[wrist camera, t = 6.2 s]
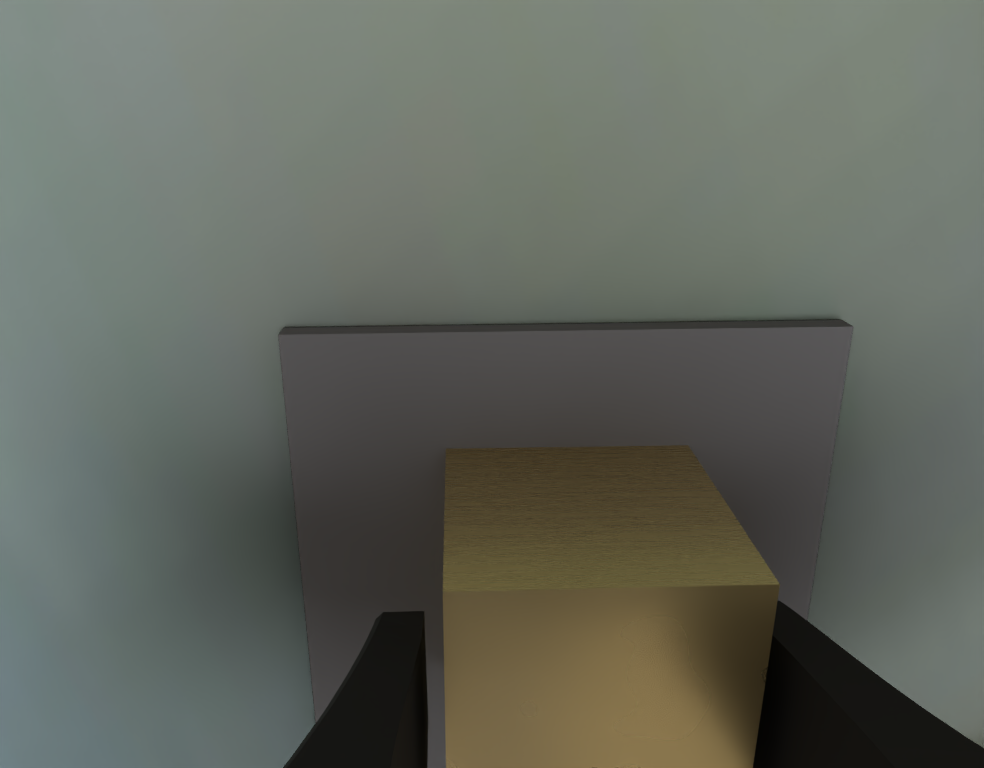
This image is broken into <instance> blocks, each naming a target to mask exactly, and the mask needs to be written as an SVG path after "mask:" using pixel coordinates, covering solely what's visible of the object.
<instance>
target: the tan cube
mask: <svg viewBox="0 0 984 768" xmlns="http://www.w3.org/2000/svg"><path fill="white" fill-rule="evenodd" d="M779 588H780V584H779V582H778V581H777V579H776V578H775V576H774V575H773V573H772V572H771V570H770V569H769V567H768V566H767V564H766V562H765V561H764V559H763V558H762V556H761V555H760V553H759V552H758V550H757V549H756V547H755V546H754V544H753V543H752V541H751V540H750V538H749V537H748V535H747V534H746V532H745V531H744V529H743V528H742V526H741V525H740V523H739V522H738V520H737V519H736V517H735V515H734V514H733V512H732V511H731V509H730V508H729V506H728V505H727V503H726V502H725V500H724V499H723V497H722V496H721V494H720V493H719V491H718V490H717V488H716V487H715V485H714V484H713V482H712V481H711V479H710V478H709V476H708V475H707V473H706V472H705V470H704V469H703V467H702V465H701V464H700V462H699V461H698V459H697V458H696V456H695V455H694V453H693V452H692V450H691V449H690V447H689V446H688V445H676V446H605V447H534V448H463V449H446V463H445V510H444V556H443V633H444V686H445V740H446V768H753V763H754V756H755V749H756V743H757V736H758V729H759V722H760V716H761V709H762V702H763V695H764V689H765V682H766V675H767V668H768V662H769V655H770V648H771V642H772V635H773V628H774V621H775V615H776V608H777V601H778V594H779Z"/></svg>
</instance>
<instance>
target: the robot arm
mask: <svg viewBox="0 0 984 768" xmlns="http://www.w3.org/2000/svg"><path fill="white" fill-rule="evenodd" d="M427 762H428V698H427V671H426V643H425V615H424V611H402V612H383V613H382V614H381V615H379V616H378V617H377V618H376V619H375V622H374V624H373V627H372V629H371V631H370V633H369V635H368V637H367V640H366V642H365V644H364V645H363V647H362V649H361V651H360V653H359V655H358V657H357V658H356V660H355V662H354V664H353V665H352V667H351V669H350V671H349V673H348V674H347V676H346V677H345V679H344V681H343V682H342V684H341V685H340V687H339V689H338V690H337V692H336V693H335V695H334V697H333V698H332V700H331V701H330V703H329V705H328V706H327V708H326V709H325V711H324V712H323V714H322V715H321V717H320V718H319V720H318V721H317V722H316V724H315V725H314V726H313V728H312V729H311V731H310V732H309V733H308V735H307V736H306V738H305V739H304V740H303V742H302V743H301V744H300V746H299V747H298V749H297V750H296V751H295V753H294V754H293V756H292V757H291V758H290V759H289V761H288V762H287V763H286V765H285V766H284V767H283V768H427ZM753 768H984V748H982V747H981V746H979V745H978V744H976V743H974V742H973V741H971V740H970V739H968V738H967V737H965V736H964V735H962V734H961V733H959V732H958V731H956V730H955V729H953V728H952V727H950V726H949V725H947V724H946V723H944V722H943V721H941V720H940V719H938V718H937V717H935V716H934V715H932V714H931V713H930V712H928V711H927V710H925V709H924V708H922V707H921V706H919V705H918V704H917V703H915V702H914V701H912V700H911V699H910V698H908V697H907V696H905V695H904V694H903V693H901V692H900V691H898V690H897V689H896V688H894V687H893V686H892V685H890V684H889V683H887V682H886V681H885V680H883V679H882V678H881V677H879V676H878V675H877V674H875V673H874V672H873V671H871V670H870V669H869V668H867V667H866V666H865V665H863V664H862V663H861V662H860V661H858V660H857V659H856V658H854V657H853V656H852V655H850V654H849V653H848V652H847V651H845V650H844V649H843V648H841V647H840V646H839V645H838V644H836V643H835V642H834V641H832V640H831V639H830V638H829V637H827V636H826V635H825V634H823V633H822V632H821V631H820V630H818V629H817V628H816V627H814V626H813V625H812V624H811V623H809V622H808V621H807V620H805V619H804V618H803V617H802V616H800V615H799V614H798V613H796V612H795V611H794V610H792V609H791V608H789V607H788V606H787V605H785V604H784V603H782V602H781V601H777V608H776V615H775V621H774V628H773V635H772V642H771V648H770V655H769V662H768V668H767V675H766V682H765V689H764V695H763V702H762V709H761V716H760V722H759V729H758V736H757V743H756V749H755V756H754V763H753Z"/></svg>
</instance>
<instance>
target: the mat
mask: <svg viewBox="0 0 984 768" xmlns="http://www.w3.org/2000/svg"><path fill="white" fill-rule="evenodd" d="M852 332H853V326H852V325H850V324H848V323H846V322H845V321H843V320H793V321H721V322H650V323H578V324H506V325H435V326H363V327H292V328H283V329H282V330H281V332H280V333H279V335H278V337H279V347H280V357H281V368H282V378H283V389H284V399H285V409H286V420H287V430H288V441H289V451H290V461H291V472H292V482H293V493H294V503H295V513H296V524H297V534H298V545H299V555H300V565H301V576H302V586H303V597H304V607H305V617H306V628H307V638H308V649H309V659H310V669H311V680H312V690H313V701H314V711H315V721H316V722H317V721H318V720H319V718H320V717H321V715H322V714H323V712H324V711H325V709H326V708H327V706H328V705H329V703H330V701H331V700H332V698H333V697H334V695H335V693H336V692H337V690H338V689H339V687H340V685H341V684H342V682H343V681H344V679H345V677H346V676H347V674H348V673H349V671H350V669H351V667H352V665H353V664H354V662H355V660H356V658H357V657H358V655H359V653H360V651H361V649H362V647H363V645H364V644H365V642H366V640H367V637H368V635H369V633H370V631H371V629H372V627H373V624H374V622H375V619H376V618H377V617H378V616H379V615H381V614H382V613H383V612H402V611H424V615H425V643H426V671H427V698H428V762H427V768H446V740H445V686H444V633H443V556H444V510H445V463H446V449H463V448H534V447H605V446H676V445H688V446H689V447H690V449H691V450H692V452H693V453H694V455H695V456H696V458H697V459H698V461H699V462H700V464H701V465H702V467H703V469H704V470H705V472H706V473H707V475H708V476H709V478H710V479H711V481H712V482H713V484H714V485H715V487H716V488H717V490H718V491H719V493H720V494H721V496H722V497H723V499H724V500H725V502H726V503H727V505H728V506H729V508H730V509H731V511H732V512H733V514H734V515H735V517H736V519H737V520H738V522H739V523H740V525H741V526H742V528H743V529H744V531H745V532H746V534H747V535H748V537H749V538H750V540H751V541H752V543H753V544H754V546H755V547H756V549H757V550H758V552H759V553H760V555H761V556H762V558H763V559H764V561H765V562H766V564H767V566H768V567H769V569H770V570H771V572H772V573H773V575H774V576H775V578H776V579H777V581H778V582H779V584H780V588H779V594H778V601H781V602H782V603H784V604H785V605H787V606H788V607H789V608H791V609H792V610H794V611H795V612H796V613H798V614H799V615H800V616H802V617H803V618H804V619H805V620H807V619H808V613H809V606H810V600H811V593H812V587H813V581H814V574H815V568H816V562H817V555H818V549H819V542H820V536H821V530H822V523H823V517H824V511H825V504H826V498H827V492H828V485H829V479H830V472H831V466H832V460H833V453H834V447H835V441H836V434H837V428H838V421H839V415H840V409H841V402H842V396H843V390H844V383H845V377H846V370H847V364H848V358H849V351H850V345H851V339H852Z"/></svg>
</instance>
